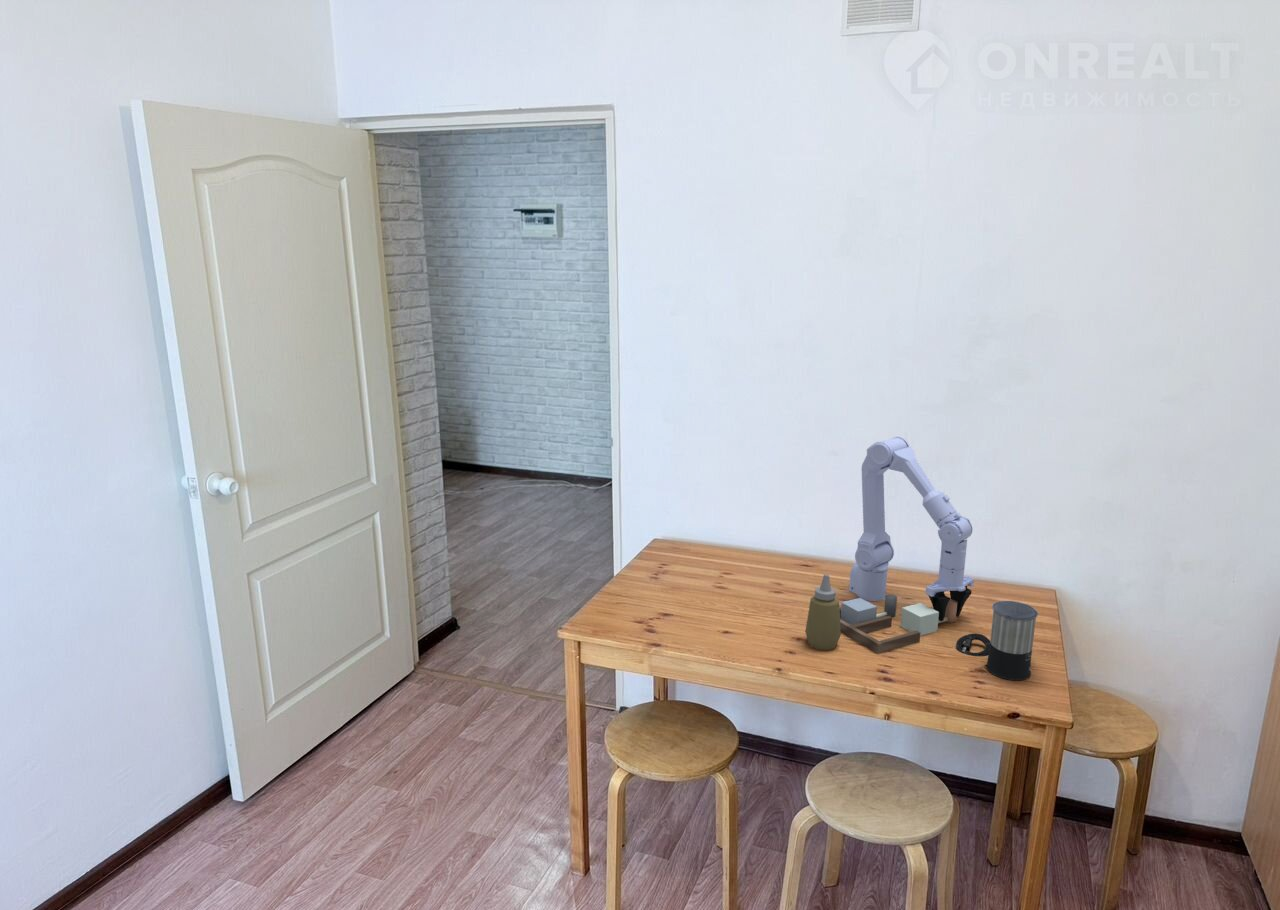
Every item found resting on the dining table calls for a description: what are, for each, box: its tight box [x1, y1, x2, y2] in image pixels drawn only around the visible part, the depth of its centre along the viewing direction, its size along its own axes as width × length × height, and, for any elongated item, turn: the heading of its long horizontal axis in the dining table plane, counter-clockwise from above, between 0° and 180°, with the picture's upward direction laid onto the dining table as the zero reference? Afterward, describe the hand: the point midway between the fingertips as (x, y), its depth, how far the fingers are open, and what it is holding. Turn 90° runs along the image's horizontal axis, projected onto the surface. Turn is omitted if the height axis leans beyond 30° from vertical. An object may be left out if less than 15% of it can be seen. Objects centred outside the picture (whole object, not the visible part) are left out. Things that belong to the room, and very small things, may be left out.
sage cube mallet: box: [900, 599, 957, 637], centre depth 201 cm, size 6×15×5 cm, turn 117°
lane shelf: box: [839, 606, 921, 655], centre depth 201 cm, size 20×28×3 cm
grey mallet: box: [840, 593, 898, 625], centre depth 204 cm, size 6×15×5 cm, turn 117°
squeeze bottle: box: [804, 574, 841, 651], centre depth 190 cm, size 8×8×18 cm
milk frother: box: [955, 600, 1039, 681], centre depth 183 cm, size 14×16×15 cm
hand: (947, 617), depth 203 cm, fingers closed on sage cube mallet, 5 cm apart
